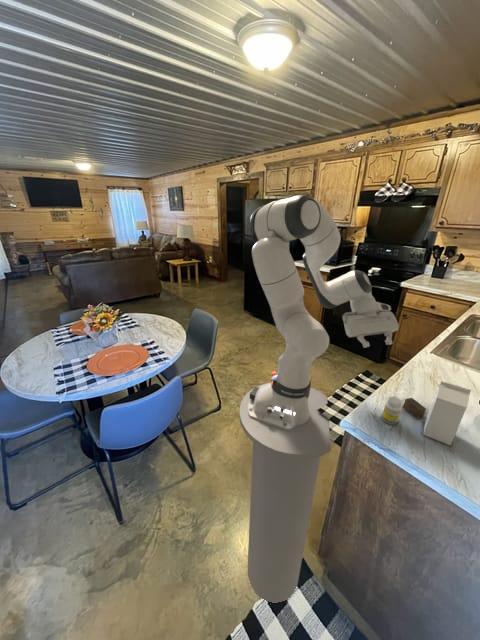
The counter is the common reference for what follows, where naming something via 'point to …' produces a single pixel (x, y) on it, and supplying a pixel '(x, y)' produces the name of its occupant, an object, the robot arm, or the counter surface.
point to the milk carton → (446, 412)
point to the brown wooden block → (414, 408)
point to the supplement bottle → (392, 410)
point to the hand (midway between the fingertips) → (378, 345)
